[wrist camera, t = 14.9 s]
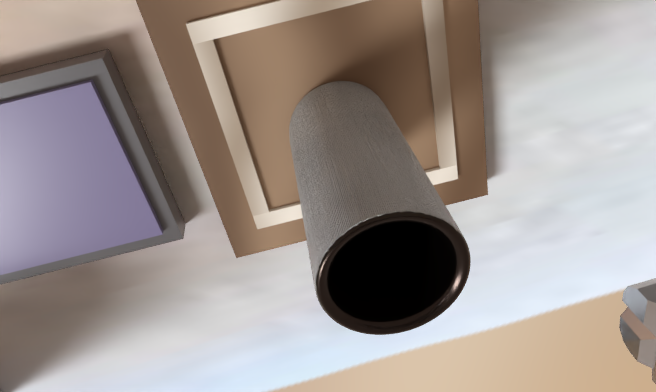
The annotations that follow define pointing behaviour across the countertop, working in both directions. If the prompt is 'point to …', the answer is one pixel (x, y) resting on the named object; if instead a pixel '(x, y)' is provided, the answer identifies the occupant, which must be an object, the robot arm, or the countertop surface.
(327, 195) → the planter
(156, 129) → the countertop surface
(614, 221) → the countertop surface
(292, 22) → the marked board
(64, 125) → the ink pad
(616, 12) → the countertop surface
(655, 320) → the robot arm
